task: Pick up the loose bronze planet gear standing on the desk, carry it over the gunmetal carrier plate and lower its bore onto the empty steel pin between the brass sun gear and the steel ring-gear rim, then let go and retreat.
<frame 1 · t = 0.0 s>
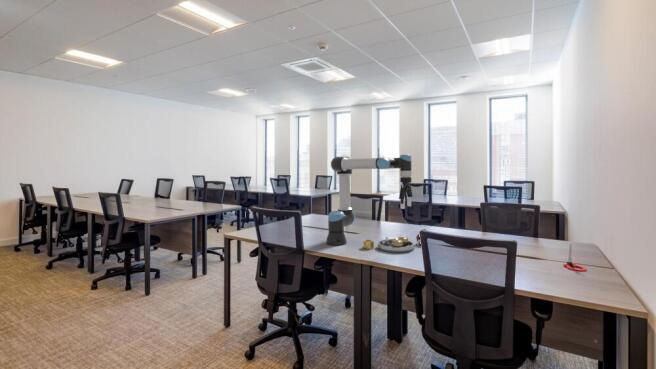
hand: (406, 207, 226), 28 cm above the table, fingers open, 13 cm apart
carrier plate: (395, 248, 225), on the table
planet gear: (368, 247, 228), on the table
brake caliper: (424, 244, 234), on the table
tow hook: (575, 269, 176), on the table
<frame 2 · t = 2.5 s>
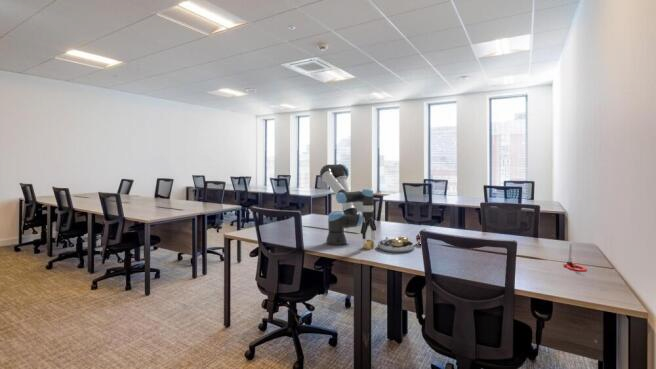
hand: (369, 241, 227), 5 cm above the table, fingers open, 13 cm apart
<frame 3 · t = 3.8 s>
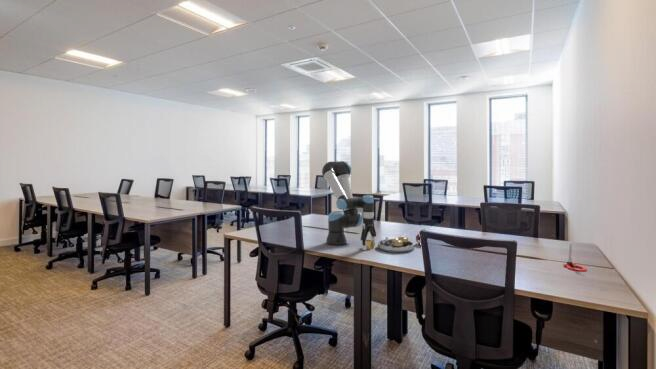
hand: (368, 247, 227), 0 cm above the table, fingers open, 13 cm apart
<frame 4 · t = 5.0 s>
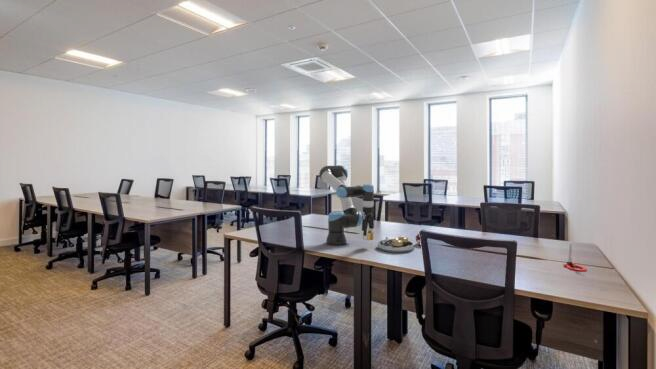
hand: (367, 238, 228), 6 cm above the table, fingers closed on planet gear, 7 cm apart
planet gear: (368, 239, 228), point 6 cm above the table, touching gripper
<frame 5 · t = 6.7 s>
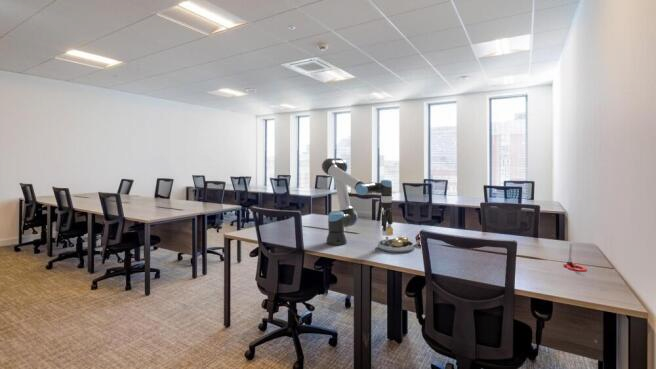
hand: (387, 234, 228), 9 cm above the table, fingers closed on planet gear, 7 cm apart
planet gear: (387, 234, 228), point 9 cm above the table, touching gripper
when the fingers open (3 cm above the table, at t = 8.5 s): planet gear stays where it is, resting on carrier plate.
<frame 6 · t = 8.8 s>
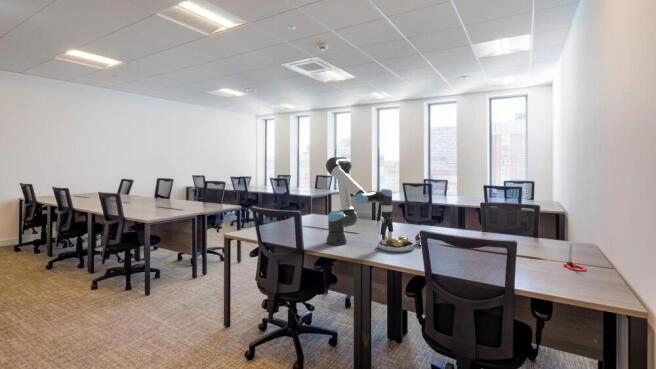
hand: (387, 242, 228), 3 cm above the table, fingers open, 10 cm apart
planet gear: (387, 244, 228), point 1 cm above the table, touching carrier plate
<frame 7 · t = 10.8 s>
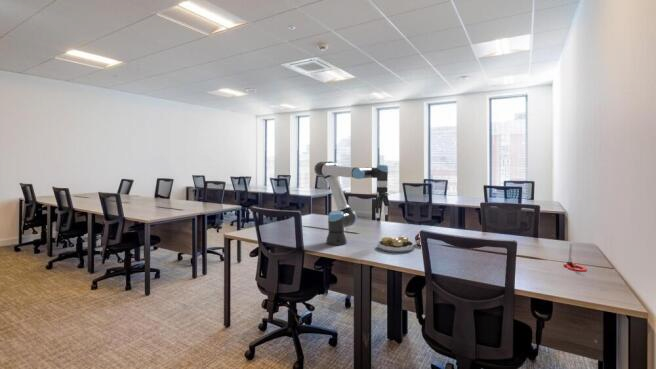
hand: (381, 216, 232), 21 cm above the table, fingers open, 13 cm apart
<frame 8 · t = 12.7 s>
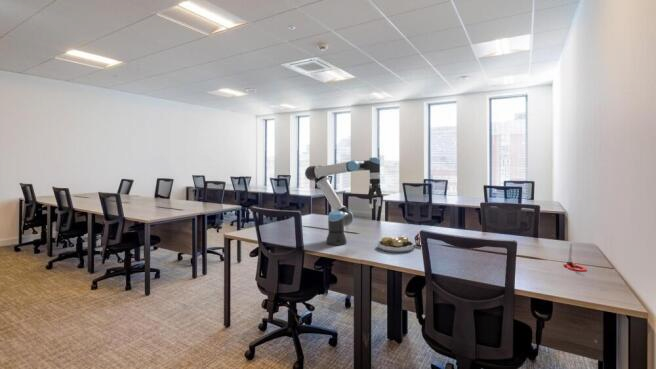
hand: (375, 207, 240), 27 cm above the table, fingers open, 13 cm apart
at the end: planet gear 0.1 cm from the target spot on the carrier plate, point 1.5 cm above the carrier plate's base; planet gear tilted 0°; the gripper is holding nothing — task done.
